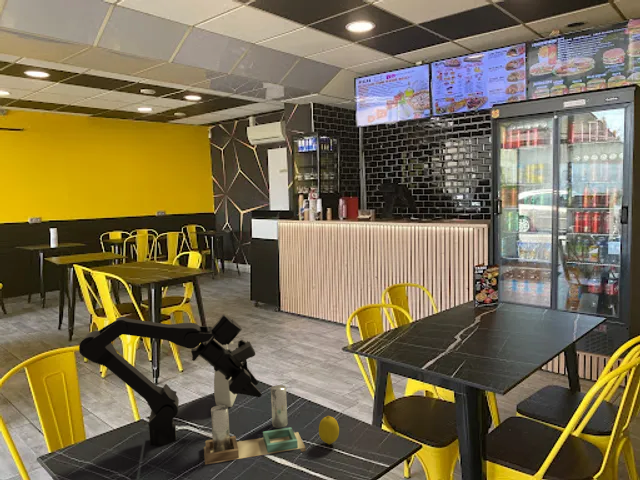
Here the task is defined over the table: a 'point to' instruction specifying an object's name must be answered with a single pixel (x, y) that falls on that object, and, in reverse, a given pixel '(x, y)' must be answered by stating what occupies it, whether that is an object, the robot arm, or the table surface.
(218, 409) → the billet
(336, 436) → the lemon
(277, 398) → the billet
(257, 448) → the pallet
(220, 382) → the soap bottle
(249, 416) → the table surface
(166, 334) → the robot arm
